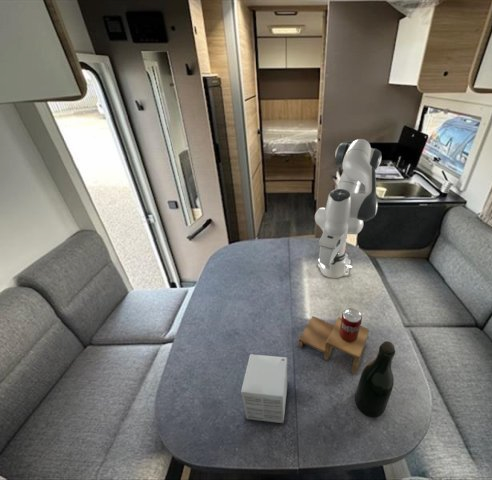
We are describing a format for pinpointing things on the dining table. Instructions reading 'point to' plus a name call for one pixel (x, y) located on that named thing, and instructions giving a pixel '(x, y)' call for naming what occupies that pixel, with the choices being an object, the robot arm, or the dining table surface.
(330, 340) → the step shelf
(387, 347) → the dark green wine bottle
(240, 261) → the dining table surface
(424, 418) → the dining table surface
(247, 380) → the supplement box
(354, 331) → the soda can
